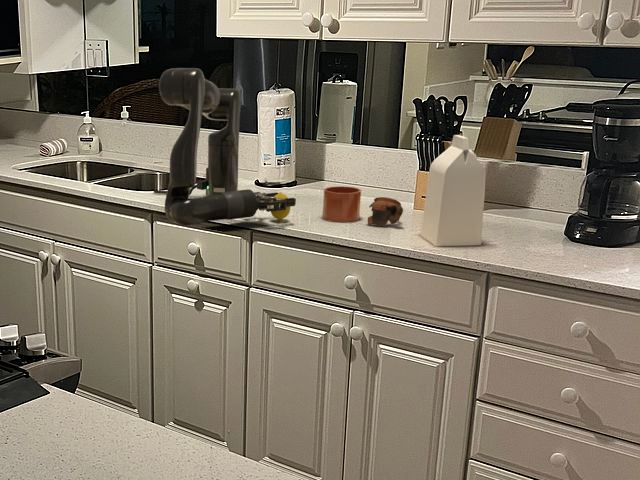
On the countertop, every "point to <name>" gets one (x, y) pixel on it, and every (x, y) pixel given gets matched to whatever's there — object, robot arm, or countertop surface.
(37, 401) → the countertop surface
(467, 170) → the milk
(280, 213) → the lemon
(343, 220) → the crock
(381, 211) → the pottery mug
